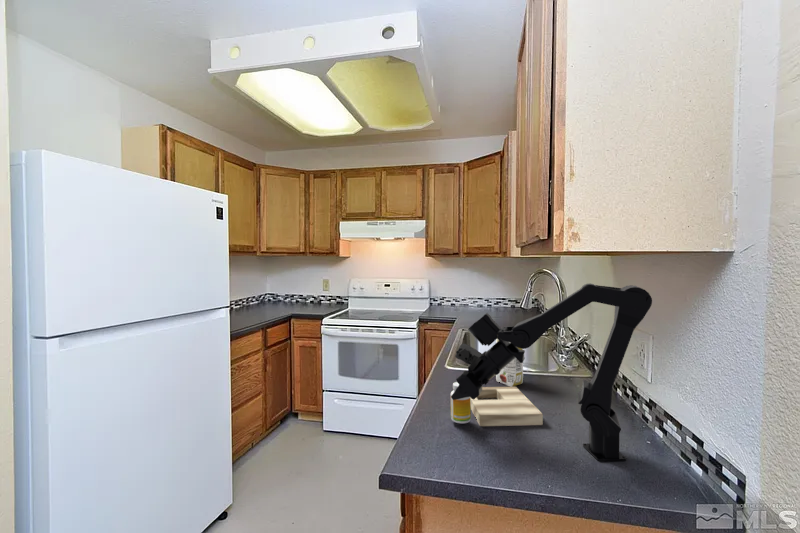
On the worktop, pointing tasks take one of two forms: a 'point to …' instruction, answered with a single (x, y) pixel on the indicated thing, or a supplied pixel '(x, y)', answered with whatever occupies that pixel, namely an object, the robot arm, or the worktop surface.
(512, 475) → the worktop surface
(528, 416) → the socket board
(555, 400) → the worktop surface
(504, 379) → the juice carton
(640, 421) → the worktop surface
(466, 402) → the supplement bottle
